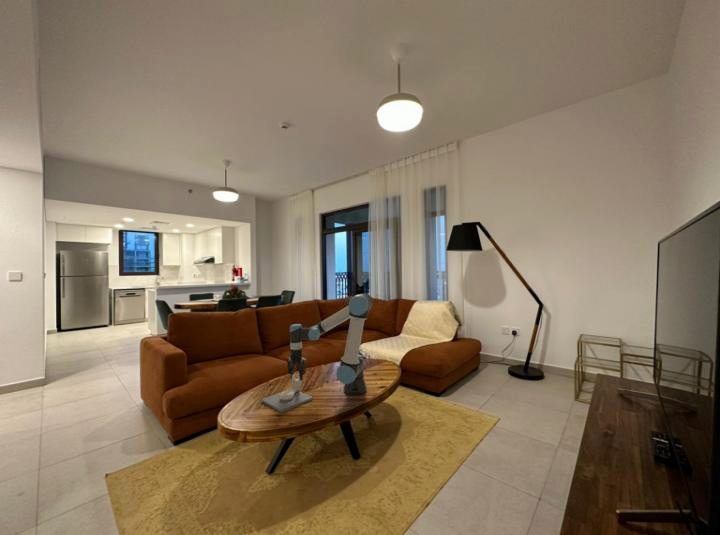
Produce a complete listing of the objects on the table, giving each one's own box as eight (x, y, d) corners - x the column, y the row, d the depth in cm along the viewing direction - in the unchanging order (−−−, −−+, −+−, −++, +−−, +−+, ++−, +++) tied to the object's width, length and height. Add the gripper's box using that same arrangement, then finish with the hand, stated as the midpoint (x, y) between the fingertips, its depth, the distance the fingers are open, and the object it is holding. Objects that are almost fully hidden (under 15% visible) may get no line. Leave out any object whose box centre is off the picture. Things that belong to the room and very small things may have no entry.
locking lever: (289, 401, 169) (288, 389, 169) (277, 399, 171) (277, 387, 171) (304, 390, 185) (303, 379, 185) (293, 388, 187) (293, 378, 187)
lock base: (312, 399, 174) (312, 396, 174) (281, 412, 158) (281, 409, 158) (292, 390, 189) (292, 387, 189) (261, 401, 173) (261, 399, 173)
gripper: (310, 347, 186) (311, 383, 185) (287, 346, 191) (288, 381, 190) (305, 350, 179) (305, 388, 178) (281, 349, 184) (282, 385, 183)
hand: (296, 384), depth 184 cm, fingers closed on locking lever, 4 cm apart
